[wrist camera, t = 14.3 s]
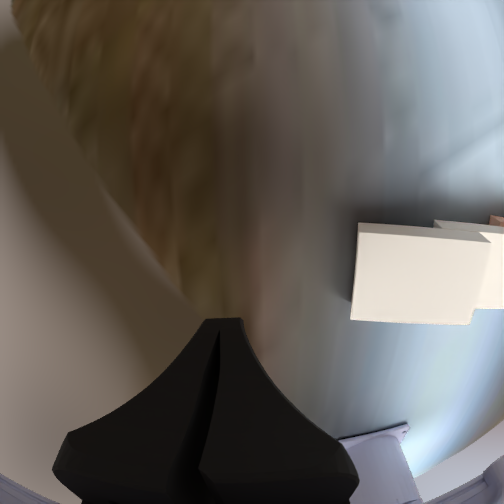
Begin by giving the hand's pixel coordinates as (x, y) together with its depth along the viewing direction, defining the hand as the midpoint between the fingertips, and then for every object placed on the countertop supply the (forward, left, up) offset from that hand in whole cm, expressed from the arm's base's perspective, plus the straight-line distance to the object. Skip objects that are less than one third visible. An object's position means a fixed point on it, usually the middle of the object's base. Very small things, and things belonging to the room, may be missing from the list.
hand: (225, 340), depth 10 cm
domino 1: (0, -7, -5) cm, 8 cm away
